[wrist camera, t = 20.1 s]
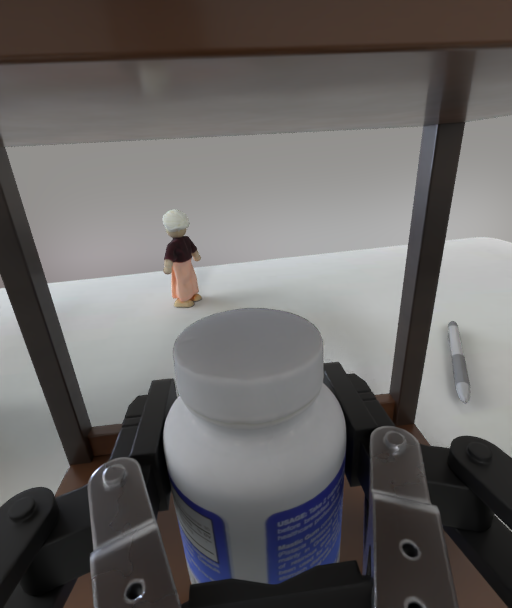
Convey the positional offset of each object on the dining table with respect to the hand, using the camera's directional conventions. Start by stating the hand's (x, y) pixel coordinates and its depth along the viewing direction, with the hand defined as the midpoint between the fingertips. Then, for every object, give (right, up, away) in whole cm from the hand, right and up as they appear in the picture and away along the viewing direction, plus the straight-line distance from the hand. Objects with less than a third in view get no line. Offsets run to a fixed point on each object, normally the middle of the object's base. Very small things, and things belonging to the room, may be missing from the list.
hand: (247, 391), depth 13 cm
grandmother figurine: (-9, +3, +35) cm, 36 cm away
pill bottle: (+1, -7, 0) cm, 7 cm away
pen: (+19, -2, +18) cm, 26 cm away
